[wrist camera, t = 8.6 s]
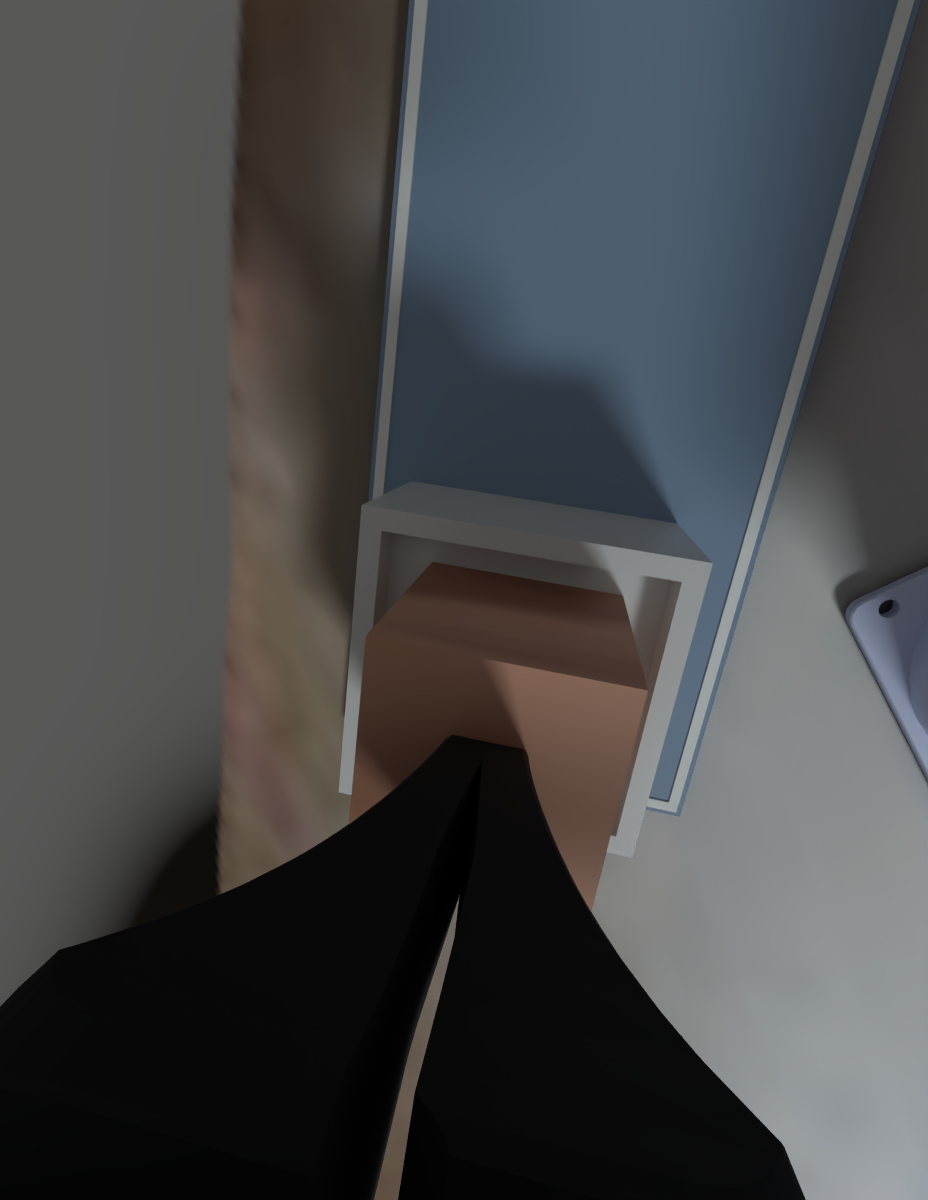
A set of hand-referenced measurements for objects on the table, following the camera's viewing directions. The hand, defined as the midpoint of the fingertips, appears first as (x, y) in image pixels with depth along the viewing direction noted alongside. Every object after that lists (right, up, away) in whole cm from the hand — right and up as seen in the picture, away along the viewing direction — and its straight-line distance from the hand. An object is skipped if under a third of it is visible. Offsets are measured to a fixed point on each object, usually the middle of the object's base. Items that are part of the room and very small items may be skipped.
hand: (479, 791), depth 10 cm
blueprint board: (+3, +8, +7) cm, 11 cm away
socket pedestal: (+1, +3, +8) cm, 8 cm away
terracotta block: (+1, +2, +5) cm, 5 cm away
